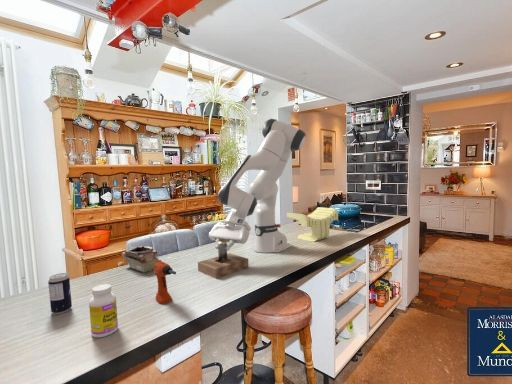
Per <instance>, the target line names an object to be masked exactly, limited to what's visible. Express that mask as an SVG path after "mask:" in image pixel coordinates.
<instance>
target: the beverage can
mask: <svg viewBox="0 0 512 384" xmlns="http://www.w3.org/2000/svg"><path fill="white" fill-rule="evenodd" d="M70 282H71V281H70V276H69V275H68V273H67V272H61V273H60V272H59V273H57V274H53V275H51V276H49V277H48V282H47V283H48V294H49V303H50V304H49V305H50V312H51V313H53V314H54V315H60V314H64V313H66V312H68V311H70V309H71V308H72V306H73V305H72V294H71V293H72V292H71V284H70Z"/></svg>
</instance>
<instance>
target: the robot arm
mask: <svg viewBox="0 0 512 384" xmlns="http://www.w3.org/2000/svg"><path fill="white" fill-rule="evenodd" d="M261 132H262V133H261V134H262V136H263V138H264V139H263V140H262V142H261V143H260V145H259V147H258V149H257V151H256V152H254V153H253V154H249V155H247V156H246V157H245V158H243V160H242V161H241V163H240V164H239V165H238V166H237V168H236V169H235V171H234V172H233V173H232V175H231V176H230V178H229V179H228V180H227V182H226V183H224V185H222V186H221V188H220V189H219V191H218V192H217V200H218V203H220V204H221V205H223V206H226V207H230V211H229V212H228V213H227V216H226V218H225V219H224V221H223V222H218V223H216V224H214V226H213V227H212V229H211V230H210V232H209V233H208V237H209V239H210V240H212V241H215V243H216V244H215V246H214V248H215V249H216V250H218V242H219V241H227V245H226V246H225V250H227V252H229V251H230V250H231V248H232V247H233V246H234V245H235V244H240V245H241V244H243V245H244V244H246V243H247V242H248V239H249V237H250V232H251V230H252V229H251V226H250V225H249V223H248V222H247V221H246V218H247V217H249V216H252V215H253V214H255V215H254V217H255V218H254V219H255V221H254V223H255V224H254V232H255V235H254V236H255V239H254V245H253V246H254V247H253V251H255V252H257V253H261V254H263V253H267V254H269V253H280V252H282V251H284V250H287V249H288V248H291V247H292V244H291V243H289V242H288V240H287V239H288V238H287V236H286V235H285V234H284V233H282V232H281V231H280V230H279V229H280V228H281V227H282V225H281V223H276V203H277V195H278V191H279V185H278V183H277V181H278V180H279V179H280V177H281V176H282V174H283V173H284V170H285V167H287V163H288V161H289V159H290V156H291V152H295V151H296V152H297V151H299V150H301V148H302V147H304V144H305V142H306V137H307V136H306V133H305V131H304V130H302V129H300V128H297V127H296V126H294V125H292V124H290V123H286V122H283V121H279V120H277V119H276V118H269V119H267V120H266V121H265V123H264V124H263V127H262V130H261ZM247 171H259V172H258V174H257V175H256V177H255V178H254V180H253V181H252V182H251V184H250V185H249V186H248V188H247V191H245V190H243V189H241V188H239V187H237V186H236V185H237V183H238V182H239V180H240V179H241V178H242V176H243V175H244V174H245V173H246V172H247ZM278 228H279V229H278Z"/></svg>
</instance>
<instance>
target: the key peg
mask: <svg viewBox="0 0 512 384" xmlns="http://www.w3.org/2000/svg"><path fill="white" fill-rule="evenodd" d="M226 245H228V242H227V241H219V242H218V249H217V252H218V255H217V257H218V256H219V260H220V261H224V260H227V259H228V258H227V254H228V250H225V246H226Z"/></svg>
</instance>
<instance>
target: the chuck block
mask: <svg viewBox="0 0 512 384" xmlns="http://www.w3.org/2000/svg"><path fill="white" fill-rule="evenodd" d="M227 258H228V259H227V260H224V261H220V260H219V256H218V255H217V256H215V257H212V258H207V259H204V260H201V261H198V262H197V269H198V270H197V271H198V272H200V273H203V274H204V275H207V276H208V277H211V278H213V279H218V278H221V277H222V278H223V277H224V276H227V275H230V274H233V273H236V272H238V271H243V270H246V269H248V268H249V267H250V266H249V258H247V257H244V256H241V255H238V254H233V253H230V252H229V253H227Z"/></svg>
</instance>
